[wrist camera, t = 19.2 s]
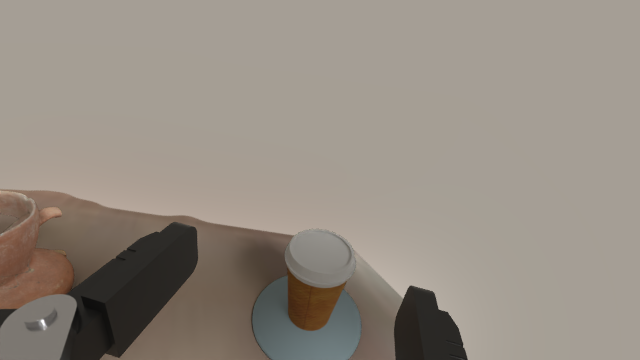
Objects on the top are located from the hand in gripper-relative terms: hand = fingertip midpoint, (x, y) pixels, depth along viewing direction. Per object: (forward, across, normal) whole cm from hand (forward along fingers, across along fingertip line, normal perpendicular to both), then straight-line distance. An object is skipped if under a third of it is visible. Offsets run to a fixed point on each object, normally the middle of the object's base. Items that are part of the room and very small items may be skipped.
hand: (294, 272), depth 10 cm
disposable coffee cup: (+21, 0, +28) cm, 35 cm away
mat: (+20, 0, +28) cm, 35 cm away
